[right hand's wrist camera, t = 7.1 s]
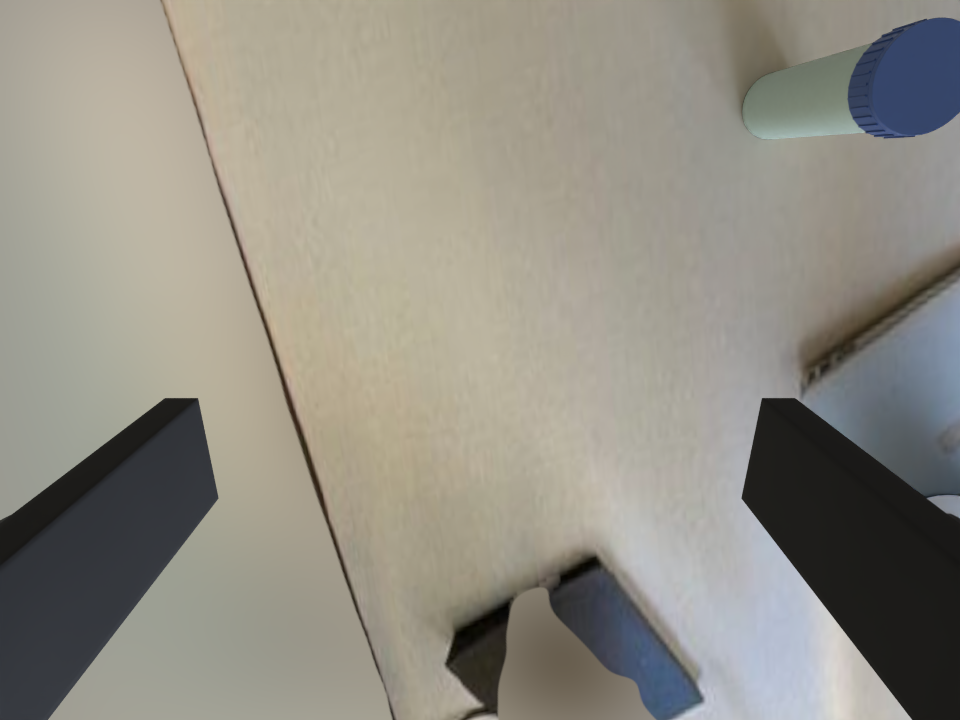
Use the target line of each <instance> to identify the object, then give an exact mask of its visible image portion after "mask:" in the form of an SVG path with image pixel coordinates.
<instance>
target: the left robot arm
mask: <svg viewBox="0 0 960 720" xmlns="http://www.w3.org/2000/svg"><path fill="white" fill-rule="evenodd" d="M927 499H928V500H930V501H931V502H932V503H934V504H935V505H936V506H937V507H939V508H940V509H941V510H943V511H944V512H945V513H951V514H953V515H955V516H957V517H959V518H960V496H956V495H940V496H933V497H929V498H927Z"/></svg>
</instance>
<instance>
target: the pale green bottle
mask: <svg viewBox="0 0 960 720" xmlns="http://www.w3.org/2000/svg"><path fill="white" fill-rule="evenodd" d="M871 45H872V43H871V44H868V45H864V46H861V47H858V48H854V49H851V50H847V51H844V52H841V53H837V54H834V55H830V56H827V57H824V58H820V59H817V60H814V61H810V62H807V63H803V64H800V65H797V66H793V67H790V68H786V69H783V70H780V71H776V72H773V73H770V74H767V75H765V76H763V77H761V78H760V79H759V80H757V81H756V82H755V83H754V84H753V86H752V87H751V88H750V89H749V91H748V93H747V95H746V97H745V100H744V103H743V109H742V115H743V120H744V123H745V126H746V128H747V129H748V130H749V132H750V133H752V134H753V135H754V136H756V137H758V138H761V139H780V138H795V137H809V136H824V135H839V134H853V133H865V131H864V130H862V129H861V128H859V127H858V125H857V124H856V122H855V121H854V120H853V119H852V115H851V113H850V111H849V105H848V100H847V98H848V87H849V82H850V79H851V75H852V73H853V71H854V68H855V66H856V63H858V61H859V59H860V58H861V57H862V55H863V53H864V52H865V51H866V50H867V49H868V48H869V47H870V46H871Z"/></svg>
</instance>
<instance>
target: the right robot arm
mask: <svg viewBox="0 0 960 720" xmlns="http://www.w3.org/2000/svg"><path fill="white" fill-rule="evenodd" d="M217 499H218V494H217V489H216V484H215V479H214V474H213V470H212V464H211V460H210V455H209V450H208V445H207V440H206V435H205V430H204V425H203V421H202V416H201V411H200V406H199V401H198V398H165V399H163V400H162V401H161V402H159V403H158V404H157V405H156V406H154V407H153V408H152V409H150V410H149V411H148V412H146V413H145V414H144V415H142V416H141V417H140V418H138V419H137V420H136V421H135V422H133V423H132V424H131V425H129V426H128V427H127V428H125V429H124V430H123V431H121V432H120V433H119V434H117V435H116V436H115V437H113V438H112V439H111V440H110V441H108V442H107V443H105V444H104V445H103V446H102V447H100V448H99V449H98V450H96V451H95V452H94V453H92V454H91V455H90V456H88V457H87V458H86V459H84V460H83V461H82V462H81V463H79V464H78V465H77V466H75V467H74V468H73V469H71V470H70V471H69V472H67V473H66V474H65V475H63V476H62V477H61V478H59V479H58V480H57V481H55V482H54V483H53V484H52V485H50V486H49V487H48V488H46V489H45V490H44V491H42V492H41V493H40V494H38V495H37V496H36V497H34V498H33V499H32V500H31V501H29V502H28V503H26V504H25V505H24V506H23V507H21V508H20V509H19V510H17V511H16V512H15V513H13V514H12V515H10V516H8V517H6V518H4V519H2V520H0V720H48V719H49V717H50V716H51V715H52V714H53V712H54V711H55V710H56V708H57V707H58V706H59V704H60V703H61V702H62V701H63V699H64V698H65V697H66V695H67V694H68V693H69V691H70V690H71V689H72V688H73V686H74V685H75V684H76V682H77V681H78V680H79V679H80V677H81V676H82V675H83V673H84V672H85V671H86V669H87V668H88V667H89V666H90V664H91V663H92V662H93V660H94V659H95V658H96V656H97V655H98V654H99V653H100V651H101V650H102V649H103V647H104V646H105V645H106V644H107V642H108V641H109V640H110V638H111V637H112V636H113V634H114V633H115V632H116V631H117V629H118V628H119V627H120V625H121V624H122V623H123V621H124V620H125V619H126V618H127V616H128V615H129V614H130V612H131V611H132V610H133V609H134V607H135V606H136V605H137V603H138V602H139V601H140V599H141V598H142V597H143V596H144V594H145V593H146V592H147V590H148V589H149V588H150V586H151V585H152V584H153V582H154V581H155V580H156V579H157V577H158V576H159V575H160V573H161V572H162V571H163V570H164V568H165V567H166V566H167V564H168V563H169V562H170V560H171V559H172V558H173V556H174V555H175V554H176V553H177V551H178V550H179V549H180V547H181V546H182V545H183V544H184V542H185V541H186V540H187V538H188V537H189V536H190V535H191V533H192V532H193V531H194V529H195V528H196V527H197V525H198V524H199V523H200V522H201V520H202V519H203V518H204V516H205V515H206V514H207V513H208V511H209V510H210V509H211V507H212V506H213V505H214V503H215V502H216V501H217ZM742 500H743V501H744V502H745V503H746V505H747V506H748V507H749V509H750V510H751V511H752V513H753V514H754V515H755V516H756V518H757V519H758V520H759V522H760V523H761V524H762V525H763V527H764V528H765V529H766V531H767V532H768V533H769V535H770V536H771V537H772V538H773V540H774V541H775V542H776V544H777V545H778V546H779V548H780V549H781V550H782V551H783V553H784V554H785V555H786V557H787V558H788V559H789V561H790V562H791V563H792V564H793V566H794V567H795V568H796V570H797V571H798V572H799V573H800V575H801V576H802V577H803V579H804V580H805V581H806V583H807V584H808V585H809V586H810V588H811V589H812V590H813V592H814V593H815V594H816V596H817V597H818V598H819V599H820V601H821V602H822V603H823V605H824V606H825V607H826V609H827V610H828V611H829V612H830V614H831V615H832V616H833V618H834V619H835V620H836V621H837V623H838V624H839V625H840V627H841V628H842V629H843V631H844V632H845V633H846V634H847V636H848V637H849V638H850V640H851V641H852V642H853V644H854V645H855V646H856V647H857V649H858V650H859V651H860V653H861V654H862V655H863V656H864V658H865V659H866V660H867V662H868V663H869V664H870V666H871V667H872V668H873V669H874V671H875V672H876V673H877V675H878V676H879V677H880V679H881V680H882V681H883V682H884V684H885V685H886V686H887V688H888V689H889V690H890V692H891V693H892V694H893V695H894V697H895V698H896V699H897V701H898V702H899V703H900V704H901V706H902V707H903V708H904V710H905V711H906V712H907V714H908V715H909V716H910V717H911V719H912V720H960V518H959V517H957V516H955V515H953V514H951V513H945V512H944V511H943V510H941V509H940V508H939V507H937V506H936V505H935V504H934V503H932V502H931V501H930V500H928V499H927V498H926V497H924V496H923V495H922V494H920V493H919V492H918V491H916V490H915V489H914V488H912V487H911V486H910V485H909V484H907V483H906V482H905V481H903V480H902V479H901V478H899V477H898V476H897V475H895V474H894V473H893V472H891V471H890V470H889V469H887V468H886V467H885V466H883V465H882V464H881V463H880V462H878V461H877V460H876V459H874V458H873V457H872V456H870V455H869V454H868V453H866V452H865V451H864V450H862V449H861V448H860V447H858V446H857V445H856V444H855V443H853V442H852V441H851V440H849V439H848V438H847V437H845V436H844V435H843V434H841V433H840V432H839V431H837V430H836V429H835V428H833V427H832V426H831V425H829V424H828V423H827V422H826V421H824V420H823V419H822V418H820V417H819V416H818V415H816V414H815V413H814V412H812V411H811V410H810V409H808V408H807V407H806V406H804V405H803V404H802V403H801V402H799V401H798V400H797V399H795V398H762V401H761V406H760V411H759V416H758V420H757V425H756V430H755V435H754V440H753V445H752V450H751V455H750V460H749V464H748V469H747V474H746V479H745V484H744V489H743V494H742Z"/></svg>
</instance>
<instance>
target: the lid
mask: <svg viewBox="0 0 960 720" xmlns="http://www.w3.org/2000/svg"><path fill="white" fill-rule="evenodd" d="M847 100H848V105H849V111H850V113H851V115H852V119H853V120H854V121H855V122H856V124H857V125H858V127H859V128H861V129H862V130H864V131H865V133H869V134H871V135H874V137H884V138H903V137H915V135H922V134H926V133H929V132H931V131H934V130H936V129H938V128H940V127H942V126H943V125H945V124H946V123H948V122H949V121H950V120H951V119H953V118H954V117H955V116H956V115H957V114H958V113H959V112H960V21H958V20H955V19H951V18H933V19H929V20H927V19H924V20H921V21H918V22H914V23H911V24H908V25H905V26H902V27H898V28H895V29H893V31H891V32H889V33H887V34H883V35H882V37H881V38H879V39H878V40H877V41H875V42H873V43H872V45H871V46H870V47H869V48H868V49H867V50H866V51H865V52H864V53H863V55H862V57H861V58H860V59H859V61H858V63H856V66H855V68H854V71H853V73H852V75H851V79H850V82H849V87H848V98H847Z"/></svg>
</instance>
